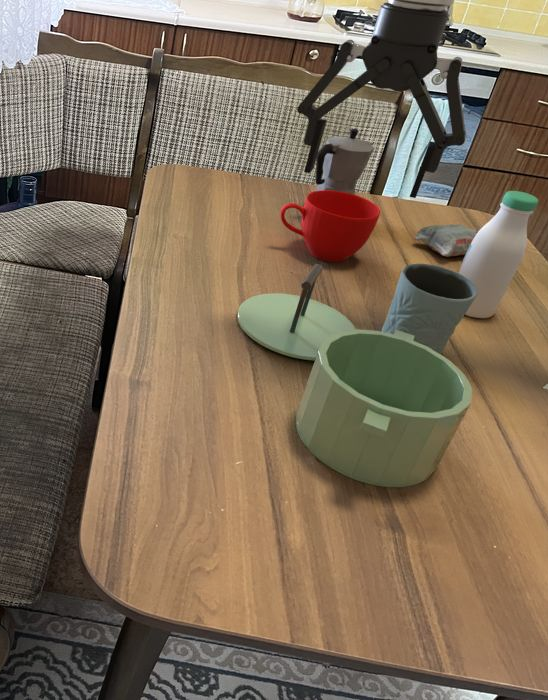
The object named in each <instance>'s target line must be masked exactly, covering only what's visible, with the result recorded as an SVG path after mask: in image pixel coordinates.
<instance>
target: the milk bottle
mask: <svg viewBox="0 0 548 700" xmlns="http://www.w3.org/2000/svg"><path fill="white" fill-rule="evenodd" d="M538 204H539V199H538V198H537V197H536V196H534V195H533V194H530V193H527V192H523V191H520V190H519V191H518V190H508V191H506V192H505V193H504V196H503V198H502V199H501V203H500V207H499V210H498V211H497V212H496V214H495V215H494V216H493V217H492V218H491V219H489V221H488V222H487V223H486V224H484V225H483V226H482V227H481V228H480V229H479V230H478V233H477V234H476V236H475V237H474V239H473V241H472V243H471V245H470V246H469V248H468V251H467V253H466V255H464V257H463V259H462V261H461V263H460V265H459V268H458V270H457V271H456V272H457V273H459V274H461V275H462V276H464V277H466V278H467V279H468V280H470V281H471V282H472V283H473V284H474V285H475V287H476V289H477V296H476V298H475V299H474V301H473V302H472V304H471V305H470V307H469V308H468V310H467V312H466V314H465V315H464V316H467V317H471V318H476V319H488V318H491V317H492V316H494V315H495V313H496V311H497V309H498V308H499V306H500V304H501V302H502V300H503V298H504V296H505V294H506V292H507V290H508V288H509V286H510V284H511V282H512V280H513V278H514V276H515V274H516V272H517V270H518V268H519V266H520V264H521V262H522V260H523V258H524V255H525V253H526V249H527V244H528V223H529V222H528V221H529V218H530V216H531V215H533V214H534V210H535V209H536V208H537V206H538Z"/></svg>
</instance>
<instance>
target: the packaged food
mask: <svg viewBox="0 0 548 700" xmlns="http://www.w3.org/2000/svg"><path fill="white" fill-rule="evenodd" d="M478 232H479V230H475V229H473V228H470V227H467V226H465V225H463V224H459V223H458V224H457V223H456V224H436V225H430V226H424V227H422V228H421V229H419V230H418V231H417V233H416V234H415V236H414V240H415V241H420V242H421V243H423V244H424V245H425V246H426V247H428V248H429V249H431V250H432V251H434V252H436V253H438V254H439V255H441V256H442V257H443V256H444V257H446V258H449V257H456V256H465V255H466V253H467V251H468V248H469V246H470V245H471V243H472V241H473V239H474V237H475V236H476V234H477V233H478Z"/></svg>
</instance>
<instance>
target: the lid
mask: <svg viewBox="0 0 548 700" xmlns="http://www.w3.org/2000/svg"><path fill="white" fill-rule="evenodd" d="M322 271H323V266H322V265H321V264H320V263H315V264H313V266H312V268H311V269H310V271H309V272H308V273H307V275H306V277H305V278H304V280H303V281H302V283H301V285H300V286H301V289H302V290H301V293H300V295H296V294H290V293H279V292H277V293H276V292H275V293H274V292H273V293H272V292H271V293H262V294H257V295H254V296H251V297H249V298H247V299H245V300H244V301H243V302H241V304H240V306H239V308H238V311H237V321H238V324H239V327H240V328H241V329H242V330H243V332H244V333H245V334H246V335H247V336H248V337H249V338H251V339H252V340H253V341H254V342H256V343H257V344H259V345H261V346H262V347H264V348H266V349H269V350H270V351H273V352H275V353H278V354H281V355H284V356H287V357H291V358H295V359H299V360H300V359H301V360H303V361H304V360H306V361H314V362H315V359H316V356H317V353H318V351H319V349H320V347H321V345H322V343H323V341H324V340H325V339H327V338H328V337H330V336H332V335H334V334H336V333H338V332H344V331H350V330H357V328H356V327H355V325H354V324H353V322H352V321H351V320H349V318H347V317H346V316H345V315H344V314H343V313H342V312H340V311H338V310H337V309H335V308H333V307H332V306H329V305H327V304H325V303H323V302H320V301H318V300H315V299H311V297H312V294H313V292H314V288H315V285H316V282H317V279H318V277H319V276H320V274H321V272H322Z"/></svg>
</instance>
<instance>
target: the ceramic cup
mask: <svg viewBox="0 0 548 700" xmlns="http://www.w3.org/2000/svg"><path fill="white" fill-rule="evenodd" d="M289 209H296V210H298V211H299V213H300V215H301V229H299V228H297V227H295V226H293V225H292V224H290V223H289V222H288V221H287V220H286V218H285V213H286V211H287V210H289ZM279 213H280V215H279V216H280V220H281V222H282V224H283V225H284V227H286V228H287V229H289V230H290V231H291V232H293V233H295V234H297V235H300V236H302V238H303V240H304V243H305V245H306V247H307V249H308V252H309V253H310V254H311V255H312V256H313V257H315V258H316V259H319V260H323V261H325V262H331V263H340V262H343V261H345V260H346V259H348V258H350V257H351V256H353V255H354V254H356V253H357V252H359V251H360V250H361V249H362V248H363V247H364V245H365V244H366V243H367V242H368V240H369V238H370V237H371V235H372V234H373V232H374V229H375V227H376V225H377V223H378V221H379V219H380V214H381V210H380V208H379V207H378V206H377V205H376V204H375V203H374V202H372V201H370V200H369V199H367V198H364V197H362V196H359V195H356V194H355V195H353V194H350V193H346V192H340V191H332V190H319V191H316V190H314V191H311V192H309V193H308V194H307V195H306V197H305V201H304V204H303V206H301V205H300V204H297V203H295V202H289V203H286V204H284V205H283V206H282V207H281V210H280V212H279Z"/></svg>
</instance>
